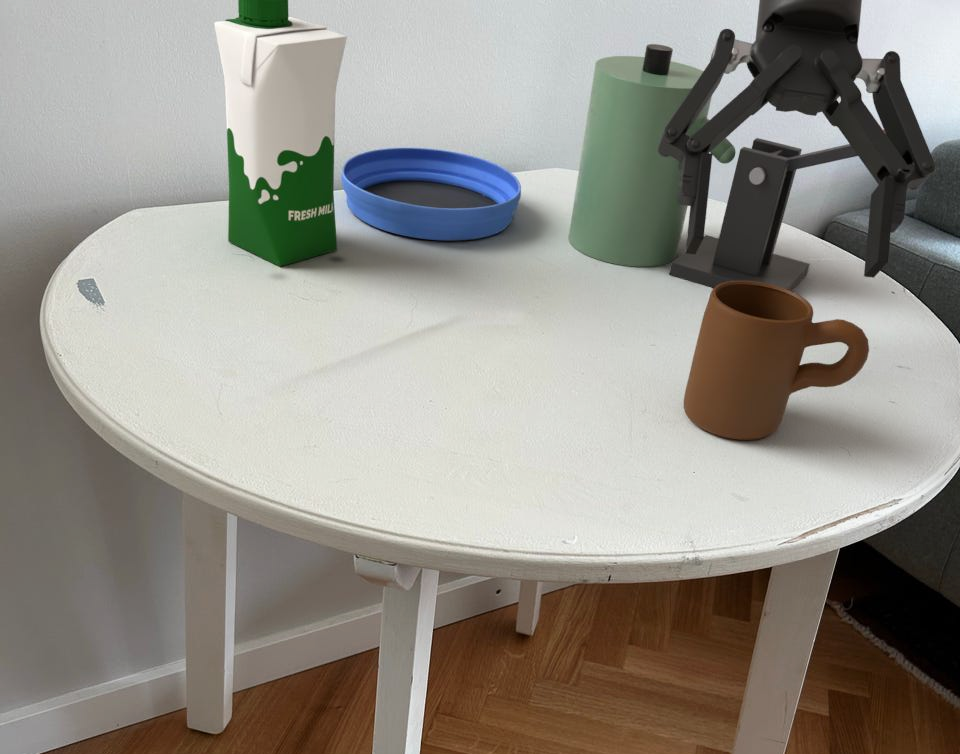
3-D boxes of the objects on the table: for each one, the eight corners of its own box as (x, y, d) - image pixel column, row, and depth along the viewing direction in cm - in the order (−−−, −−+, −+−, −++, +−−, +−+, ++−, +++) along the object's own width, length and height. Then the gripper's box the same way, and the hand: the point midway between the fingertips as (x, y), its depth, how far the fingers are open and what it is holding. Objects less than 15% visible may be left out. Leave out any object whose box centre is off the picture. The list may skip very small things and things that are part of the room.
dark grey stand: (806, 275, 110) (843, 151, 103) (778, 306, 103) (815, 176, 96) (703, 246, 114) (731, 124, 106) (668, 274, 107) (696, 145, 99)
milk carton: (286, 222, 107) (284, -16, 94) (352, 252, 103) (360, 8, 90) (213, 241, 101) (201, -9, 89) (280, 273, 97) (277, 16, 84)
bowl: (328, 179, 118) (329, 144, 115) (493, 184, 122) (496, 150, 120) (355, 243, 104) (356, 205, 102) (538, 246, 109) (543, 209, 107)
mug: (839, 421, 87) (879, 305, 81) (835, 467, 81) (878, 346, 75) (688, 386, 88) (716, 271, 83) (673, 428, 83) (702, 308, 77)
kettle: (725, 254, 113) (773, 59, 101) (688, 286, 105) (736, 79, 94) (594, 217, 117) (627, 26, 106) (550, 245, 109) (579, 43, 98)
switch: (896, 148, 99) (893, 120, 98) (879, 166, 95) (875, 136, 93) (764, 177, 106) (760, 150, 105) (742, 194, 101) (737, 167, 100)
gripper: (950, 43, 88) (929, 299, 86) (639, 1, 88) (610, 258, 86) (997, -22, 81) (974, 257, 79) (657, -68, 80) (626, 211, 78)
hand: (785, 258), depth 82 cm, fingers open, 13 cm apart
